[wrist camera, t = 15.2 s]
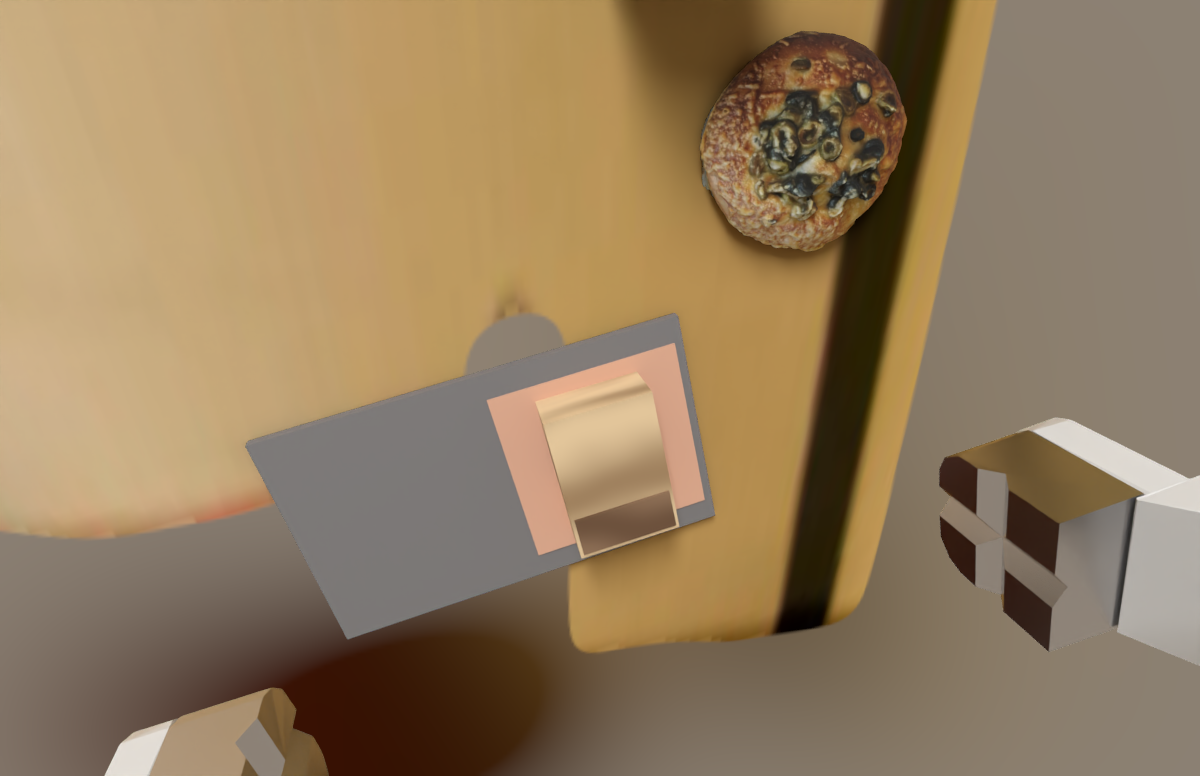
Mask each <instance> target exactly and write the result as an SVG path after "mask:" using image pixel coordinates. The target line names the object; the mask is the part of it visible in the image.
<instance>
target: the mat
mask: <svg viewBox="0 0 1200 776" xmlns="http://www.w3.org/2000/svg"><path fill="white" fill-rule="evenodd" d="M633 372H638V374H639V375H640V376H641V378H642V379H643V380H644V382H645V383H646V384H647V386H648V387H649V388H650V390H651V391H652V393H653V398H654V403H655V408H656V413H657V418H658V423H659V428H660V433H661V438H662V443H663V448H664V452H665V457H666V462H667V467H668V472H669V477H670V482H671V487H672V492H673V497H674V502H675V507H676V512H677V517H678V522H679V527H682V526H685V525H688V524H691V523H694V522H697V521H700V520H703V519H706V518H709V517H712V516H715V512H714V507H713V501H712V496H711V491H710V485H709V480H708V474H707V469H706V464H705V458H704V453H703V448H702V442H701V437H700V431H699V426H698V421H697V415H696V410H695V405H694V399H693V394H692V388H691V383H690V378H689V372H688V367H687V361H686V356H685V351H684V345H683V340H682V335H681V329H680V324H679V318H678V316H677V315H676V314H675V313H673V314H669V315H666V316H663V317H659V318H656V319H653V320H649V321H646V322H643V323H639V324H636V325H633V326H629V327H626V328H623V329H619V330H616V331H613V332H609V333H606V334H603V335H599V336H596V337H593V338H589V339H586V340H583V341H580V342H576V343H573V344H570V345H566V346H563V347H560V348H556V349H553V350H550V351H546V352H543V353H540V354H536V355H533V356H530V357H526V358H523V359H520V360H516V361H513V362H510V363H506V364H503V365H500V366H497V367H493V368H490V369H487V370H483V371H480V372H476V373H473V374H470V375H466V376H463V377H460V378H456V379H453V380H450V381H446V382H443V383H440V384H436V385H433V386H430V387H426V388H423V389H420V390H416V391H413V392H410V393H406V394H403V395H400V396H396V397H393V398H390V399H386V400H383V401H380V402H376V403H373V404H370V405H366V406H363V407H360V408H356V409H353V410H350V411H346V412H343V413H340V414H336V415H333V416H330V417H326V418H323V419H320V420H316V421H313V422H310V423H306V424H303V425H300V426H296V427H293V428H290V429H286V430H283V431H280V432H276V433H273V434H270V435H266V436H263V437H260V438H256V439H253V440H250V441H248V442H247V444H246V446H245V447H246V449H247V451H248V452H249V454H250V456H251V458H252V460H253V462H254V464H255V466H256V468H257V469H258V471H259V473H260V475H261V477H262V479H263V481H264V483H265V485H266V486H267V488H268V490H269V492H270V494H271V496H272V498H273V500H274V502H275V503H276V505H277V507H278V509H279V511H280V513H281V515H282V517H283V519H284V520H285V522H286V524H287V526H288V528H289V530H290V532H291V533H292V536H293V537H294V539H295V541H296V543H297V545H298V547H299V549H300V551H301V552H302V554H303V556H304V558H305V560H306V562H307V564H308V566H309V568H310V570H311V571H312V573H313V575H314V577H315V579H316V581H317V582H318V585H319V587H320V588H321V590H322V592H323V594H324V596H325V598H326V600H327V602H328V604H329V605H330V607H331V609H332V611H333V613H334V615H335V617H336V619H337V621H338V622H339V624H340V626H341V628H342V630H343V632H344V634H345V636H346V638H347V639H351V638H353V637H356V636H359V635H362V634H365V633H368V632H371V631H374V630H377V629H380V628H383V627H386V626H389V625H392V624H395V623H398V622H401V621H404V620H406V619H410V618H413V617H416V616H419V615H421V614H424V613H427V612H430V611H433V610H436V609H439V608H442V607H445V606H448V605H451V604H454V603H457V602H460V601H463V600H466V599H469V598H472V597H475V596H478V595H481V594H484V593H487V592H489V591H493V590H495V589H498V588H501V587H504V586H507V585H510V584H513V583H516V582H519V581H522V580H525V579H528V578H531V577H534V576H537V575H540V574H543V573H546V572H549V571H552V570H555V569H558V568H561V567H563V566H567V565H570V564H573V563H575V562H578V561H581V560H584V559H587V558H590V557H593V556H596V555H599V554H602V553H605V552H608V551H611V550H614V549H617V548H620V547H623V546H626V545H629V544H632V543H635V542H638V541H641V540H644V539H647V538H649V537H647V538H644V539H641V540H638V541H634V542H631V543H628V544H625V545H622V546H619V547H616V548H613V549H610V550H607V551H604V552H601V553H598V554H595V555H592V556H589V557H586V558H583V559H581V556H580V553H579V549H578V546H577V543H576V540H575V537H574V534H573V531H572V528H571V525H570V521H569V518H568V514H567V511H566V507H565V504H564V500H563V497H562V493H561V490H560V486H559V483H558V479H557V476H556V472H555V469H554V465H553V462H552V459H551V455H550V452H549V448H548V445H547V441H546V438H545V434H544V431H543V427H542V424H541V420H540V417H539V413H538V410H537V406H536V403H535V402H536V401H539V400H542V399H546V398H549V397H553V396H556V395H559V394H563V393H566V392H569V391H573V390H576V389H579V388H583V387H586V386H590V385H593V384H596V383H600V382H603V381H606V380H610V379H613V378H616V377H620V376H623V375H627V374H630V373H633ZM679 527H677V528H679ZM674 529H676V528H674ZM671 530H673V529H671ZM668 531H670V530H668ZM665 532H667V531H665ZM662 533H664V532H662ZM659 534H661V533H659ZM656 535H658V534H656ZM653 536H655V535H653ZM650 537H652V536H650Z"/></svg>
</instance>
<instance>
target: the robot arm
mask: <svg viewBox="0 0 1200 776" xmlns="http://www.w3.org/2000/svg"><path fill="white" fill-rule="evenodd" d="M939 470H940V471H939V486H940V487H941V488H942V489H943V490H944V491H945V492H946V493H947V494H948V495H949V496H950V499H949V500H948V502H947V503H946V505H945V507H944V509H943V510H942V512H941V514H940V530H941V538H942V541H943V543H944V546H945V548H946V550H947V553H948V555H949V558H950V559H951V560H952V562H953V563H954V564H955V566H956V567H957V568H958V570H959V571H960V572H961V573H962V574H963V575H964V576H965V577H966V578H967V579H968V580H969V581H970V582H971V583H972V584H973V585H975V586H976V587H979V588H982V589H985V590H988V591H991V592H994V593H997V594H1000V595H1001V599H1002V606H1003V612H1004V613H1006V614H1007V615H1008V616H1009V617H1010V618H1011V619H1012V620H1013V621H1015V622H1016V623H1017V624H1018V625H1019V626H1020V627H1021V628H1022V629H1024V630H1025V631H1026V632H1027V633H1028V634H1029V635H1030V636H1031V637H1033V638H1034V639H1035V640H1036V641H1037V642H1038V643H1039V644H1040V645H1042V646H1043V647H1044V648H1045V649H1046V650H1047V651H1048V652H1050V651H1053V650H1056V649H1059V648H1062V647H1065V646H1067V645H1070V644H1073V643H1076V642H1079V641H1081V640H1085V639H1088V638H1090V637H1093V636H1096V635H1099V634H1102V633H1104V632H1107V631H1110V630H1113V629H1116V628H1118V631H1117V632H1118V633H1120V634H1123V635H1125V636H1128V637H1130V638H1133V639H1135V640H1137V641H1140V642H1142V643H1145V644H1147V645H1150V646H1152V647H1155V648H1157V649H1160V650H1162V651H1165V652H1167V653H1169V654H1172V655H1174V656H1177V657H1179V658H1182V659H1184V660H1186V661H1189V662H1191V663H1194V664H1196V665H1199V666H1200V476H1198V477H1195V478H1192V479H1188V478H1186V477H1184V476H1182V475H1180V474H1178V473H1176V472H1174V471H1172V470H1170V469H1168V468H1166V467H1164V466H1162V465H1160V464H1158V463H1156V462H1154V461H1152V460H1150V459H1148V458H1146V457H1144V456H1142V455H1140V454H1138V453H1136V452H1134V451H1132V450H1130V449H1128V448H1126V447H1124V446H1122V445H1120V444H1118V443H1116V442H1114V441H1112V440H1110V439H1108V438H1106V437H1104V436H1102V435H1100V434H1098V433H1096V432H1094V431H1092V430H1090V429H1088V428H1086V427H1084V426H1082V425H1080V424H1078V423H1076V422H1074V421H1072V420H1070V419H1062V418H1052V419H1049V420H1047V421H1044V422H1041V423H1038V424H1036V425H1033V426H1030V427H1027V428H1025V429H1022V430H1019V431H1018V432H1017V433H1014V434H1011V435H1008V436H1005V437H1002V438H999V439H996V440H994V441H991V442H988V443H985V444H982V445H979V446H976V447H974V448H971V449H968V450H965V451H962V452H959V453H956V454H954V455H951V456H948V457H945V458H944V460H943V462H942V464H941V467H940V469H939ZM295 712H296V709H295V707H294V706H293V704H292V703H291V701H290V700H289V698H288V697H287V695H286V694H285V692H284V691H283V690H282V689H276V688H269V689H266V690H263V691H260V692H257V693H254V694H250V695H247V696H244V697H241V698H238V699H234V700H231V701H228V702H225V703H222V704H219V705H216V706H213V707H209V708H206V709H203V710H200V711H197V712H194V713H190V714H188V715H184V716H182V717H180V718H179V719H175V720H171V721H168V722H165V723H162V724H159V725H156V726H152V727H150V728H146V729H143V730H140V731H137V732H134V733H132V734H131V735H130V736H129V737H128V738H127V739H125V740H124V741H123V742H122V743H121V744H120V745H119V747H118V749H117V751H116V753H115V755H114V757H113V759H112V761H111V763H110V765H109V767H108V769H107V772H106V774H105V776H328V770H327V767H326V764H325V761H324V758H323V755H322V752H321V750H320V748H319V746H318V745H317V743H316V741H315V739H314V738H313V736H311V735H308V734H306V733H303V732H301V731H298V730H296V729H293V728H292V726H293V721H294V716H295Z"/></svg>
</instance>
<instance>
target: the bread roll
mask: <svg viewBox="0 0 1200 776" xmlns="http://www.w3.org/2000/svg"><path fill="white" fill-rule="evenodd" d="M906 123H907V119H906V115H905V112H904V107H903V105H902V104H901V99H900V95H899V93H898V91H897V88H896V85H895V82H894V81H893V79H892V76H891V74H890V72H889V71H888V69H887V67H886V66H885V65H884V64H882V63H881V61H880V60H879V59H878V58H877V56H876V55H875V54H874V53H873V52H872V51H871V50H869V49H868V48H867V47H866V46H864V45H862V44H860V43H858V42H856V41H854V40H852V39H849V38H847V37H845V36H840V35H836V34H830V33H819V32H807V31H801V32H797V33H795V34H794V35H792V36H789V37H786V38H783V39H781V40H779V41H777V42H776V43H775V44H773V45H771V46H769V47H768V48H767V49H766V50H764V51H763V52H762V53H760V54H759V55H757V56H755V58H754V59H753V60H752V61H750V62H749V63H748V64H747V65H746V66H745V67H744V68H743V69H742V70H741V71H740V72H739V73H738V74H737V75H736V76H735V77H734V78H733V80H732V81H731V82H730V84H729V85H728V86H727V87H726V88H725V90H724V91H723V92H722V94H721V95H720V97H719V99H718V100H717V101H716V103H715V106H714V107H712V109H711V110H710V113H709V115H708V118H707V119H706V123H705V124H704V127H703V129H702V134H701V139H702V141H701V145H700V146H699V150H700V152H701V160H702V161H703V162H702V165H703V168H702V172H703V173H702V180H703V182H702V183H703V186H704V187H705V186H706V189H707V190H711V193H712V196H713V197H714V198H715V200H716V202H717V204H718V205H719V207H720V209H721V210H722V212H723V213H724V215H725V216H726V218H727V220H728V222H729V223H730V224H731V225H732V226H733V227H735V228H737V229H738V230H739V232H741V233H743V235H744V236H750V237H753V238H754V239H755V240H759V241H760V242H761V243H763V244H765V245H772V246H773V247H775V248H782V247H783V248H789V247H791V248H793V249H798V248H799V249H801V250H803V251H806V252H808V251H814V250H817V249H820V248H822V247H824V245H825V244H826V243H828V242H830V241H832V240H835V239H837V238H838V237H840V236H841V235H842V234H845V233H846V232H847V231H848V229H849V228H850V227H851V226H852V225H853V224H854V222H855V220H856V219H857V218H858V217H859V216H861V215H862V214H863V213H864V212H865V211H866V210H867V209H869V207H870V206H871V205H872V204H873V203H874V201H875V200H876V199H877V198H878V196H879V195H880V194H881V193H882V191H883V187H884V185H885V184H886V183H887V181H888V178H889V176H890V174H891V172H892V171H893V170H894V169H895V167H896V164H897V162H898V161H897V157H898V155H899V151H900V148H901V144H902V137H903V134H904V131H905V127H906Z"/></svg>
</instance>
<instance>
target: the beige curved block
mask: <svg viewBox="0 0 1200 776" xmlns="http://www.w3.org/2000/svg"><path fill="white" fill-rule="evenodd" d="M535 403H536V406H537V410H538V413H539V417H540V420H541V424H542V427H543V431H544V434H545V438H546V441H547V445H548V448H549V452H550V455H551V459H552V462H553V465H554V469H555V472H556V476H557V479H558V483H559V486H560V490H561V493H562V497H563V500H564V504H565V507H566V511H567V514H568V518H569V521H570V525H571V528H572V531H573V534H574V537H575V540H576V543H577V546H578V549H579V553H580V556H581V559H583V558H586V557H589V556H592V555H595V554H598V553H601V552H604V551H607V550H610V549H613V548H616V547H619V546H622V545H625V544H628V543H631V542H634V541H638V540H641V539H644V538H647V537H650V536H653V535H656V534H659V533H662V532H665V531H668V530H671V529H674V528H677V527H679V522H678V517H677V512H676V507H675V502H674V497H673V492H672V487H671V482H670V477H669V472H668V467H667V462H666V457H665V452H664V448H663V443H662V438H661V433H660V428H659V423H658V418H657V413H656V408H655V403H654V398H653V393H652V391H651V390H650V388H649V387H648V386H647V384H646V383H645V382H644V380H643V379H642V378H641V376H640V375H639V374H638V372H633V373H630V374H627V375H623V376H620V377H616V378H613V379H610V380H606V381H603V382H600V383H596V384H593V385H590V386H586V387H583V388H579V389H576V390H573V391H569V392H566V393H563V394H559V395H556V396H553V397H549V398H546V399H542V400H539V401H536V402H535Z"/></svg>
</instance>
